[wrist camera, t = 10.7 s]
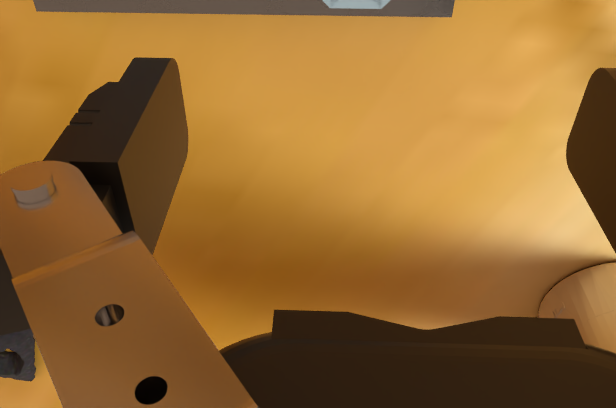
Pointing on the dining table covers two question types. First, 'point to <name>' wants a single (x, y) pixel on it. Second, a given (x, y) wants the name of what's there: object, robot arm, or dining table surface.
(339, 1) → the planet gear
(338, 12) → the gear carrier
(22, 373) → the dark slate chunk
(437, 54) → the dining table surface
